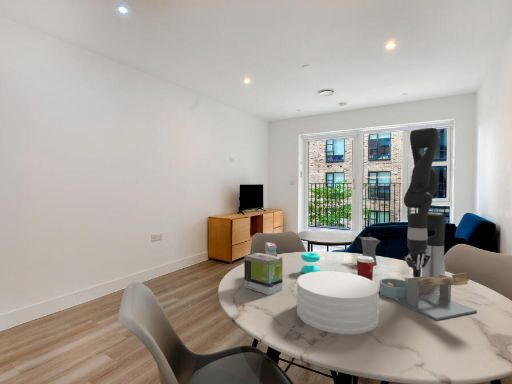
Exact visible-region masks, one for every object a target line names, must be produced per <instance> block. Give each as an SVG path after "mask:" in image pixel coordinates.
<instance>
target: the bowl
mask: <svg viewBox="0 0 512 384" xmlns="http://www.w3.org/2000/svg"><path fill="white" fill-rule="evenodd" d="M387 283H392V284H393V286H394V287H392V286H388V285H387ZM378 285H379V286H378V287H379V293H380V294H381V295H382V296H384V297H387V298H390V299H395V300H397V299H402V298H407V296H408V284H407V282H406V281H405V279H404V280H403V279H398V278H390V277H389V278H388V277H386V278H382V279H380V280H379V284H378Z"/></svg>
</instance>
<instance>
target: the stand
mask: <svg viewBox="0 0 512 384" xmlns="http://www.w3.org/2000/svg"><path fill="white" fill-rule="evenodd" d="M440 277H451V276H450V275H447V274H445V275H444V274H440ZM407 278H408V296H407V298H402V299H396V302H397V303H399V304H401V305H403V306H405V307H408V308H409V309H411V310H414V311H415V312H417V313H419V314H421V315H424V316H426V317H428V318H430V319H432V320H434V321H436V322H437V321H443V320H445V319H446V320H447V319H452V318H456V317H461V315H462V316H465V314H467V315H471V314H470V313H472V314H475V313H474V312H477V313H478V310H477V309H475V308H472V307H469V306H467V305H464V304H462V303H459V302H457V301H453V300H452V299H451V298H452V297H451V296H452V285H439V295H438V294H436V293H429V294H421V295H419V281H417V280H414V279H411V278H412V277H407Z"/></svg>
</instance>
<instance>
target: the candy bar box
mask: <svg viewBox="0 0 512 384" xmlns="http://www.w3.org/2000/svg"><path fill="white" fill-rule="evenodd" d="M264 247H265V253H264V254H268V255H273V256H278V246H277V245H276V243H275V242H271V241H269V242H265V245H264Z"/></svg>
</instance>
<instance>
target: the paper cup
mask: <svg viewBox="0 0 512 384" xmlns="http://www.w3.org/2000/svg"><path fill="white" fill-rule="evenodd" d="M355 260H356V267H357V269H356V270H357V272H356V273H357V275H359V276H362V277H365V278H367V279H370V280H371V281H373V278H374V277H373V275H374V266H373V263H374V259H373V258H372V257H369V256H362V255H358V256H356V259H355Z"/></svg>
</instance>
